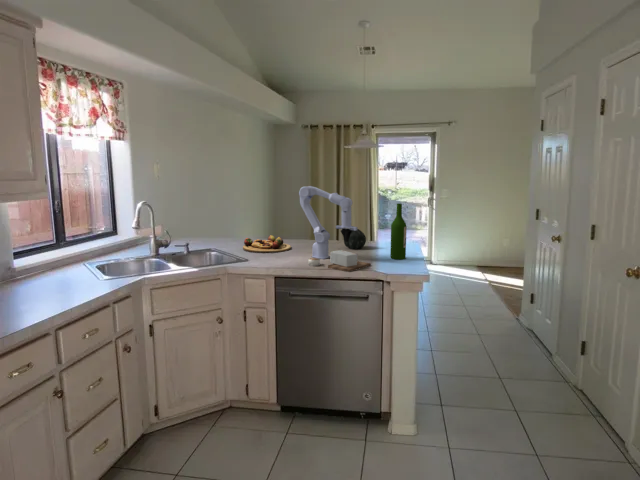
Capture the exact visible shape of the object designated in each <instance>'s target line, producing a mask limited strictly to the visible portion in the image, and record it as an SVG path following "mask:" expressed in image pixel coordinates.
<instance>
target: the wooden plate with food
mask: <svg viewBox="0 0 640 480" xmlns="http://www.w3.org/2000/svg"><path fill="white" fill-rule="evenodd" d="M243 243H244V245H243V246H242V250H244V252H249V253H254V254H276V253H282V252H287V251H290V250H291V249H292V246H291V245H290V244H288V243H284V239H283V238H281V237H280V236H278V237H277V238H276V237H275V236H274V235H272V234H271V235H269V236H268V237H267V239H264V240H263V239H255V240H253V239H251V238H249V237H246V238H245V239H244V242H243Z"/></svg>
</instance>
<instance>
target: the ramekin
mask: <svg viewBox="0 0 640 480" xmlns="http://www.w3.org/2000/svg"><path fill="white" fill-rule="evenodd" d="M320 260H321V259H320V258H314V257H310V258H308V260H307V265H308V266H310V267H318V266H321V265H320V264H321V263H320V262H321V261H320Z"/></svg>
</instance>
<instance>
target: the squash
mask: <svg viewBox="0 0 640 480" xmlns="http://www.w3.org/2000/svg"><path fill="white" fill-rule="evenodd" d="M366 242H367V237H366V235H365V233H364V232H363V231H362V230H361V229H359V228H357V230H356V231H354V230H352V233H351V235H350V237H349V241H348V242H345V241H344V240H343V243H344V246H345V247H347V248H349V249H352V250H354V249H355V250H360V249H362V248H363V247H364V246H365V245H366Z"/></svg>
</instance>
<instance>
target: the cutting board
mask: <svg viewBox="0 0 640 480" xmlns="http://www.w3.org/2000/svg"><path fill="white" fill-rule="evenodd" d="M370 265H371V266H372V263H370V262H364V261H360V260H359V261H358V260H357V265H355V266H350V267H345V266H341V265H337V264H333V263H330V264H328V265H327V269H331V268H332V270H337V271H342V272H348V273H350V272H353V271H357V270H360V269H364V268H367V267H370ZM366 266H367V267H366ZM363 267H364V268H363ZM359 268H360V269H359ZM356 269H357V270H356Z"/></svg>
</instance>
